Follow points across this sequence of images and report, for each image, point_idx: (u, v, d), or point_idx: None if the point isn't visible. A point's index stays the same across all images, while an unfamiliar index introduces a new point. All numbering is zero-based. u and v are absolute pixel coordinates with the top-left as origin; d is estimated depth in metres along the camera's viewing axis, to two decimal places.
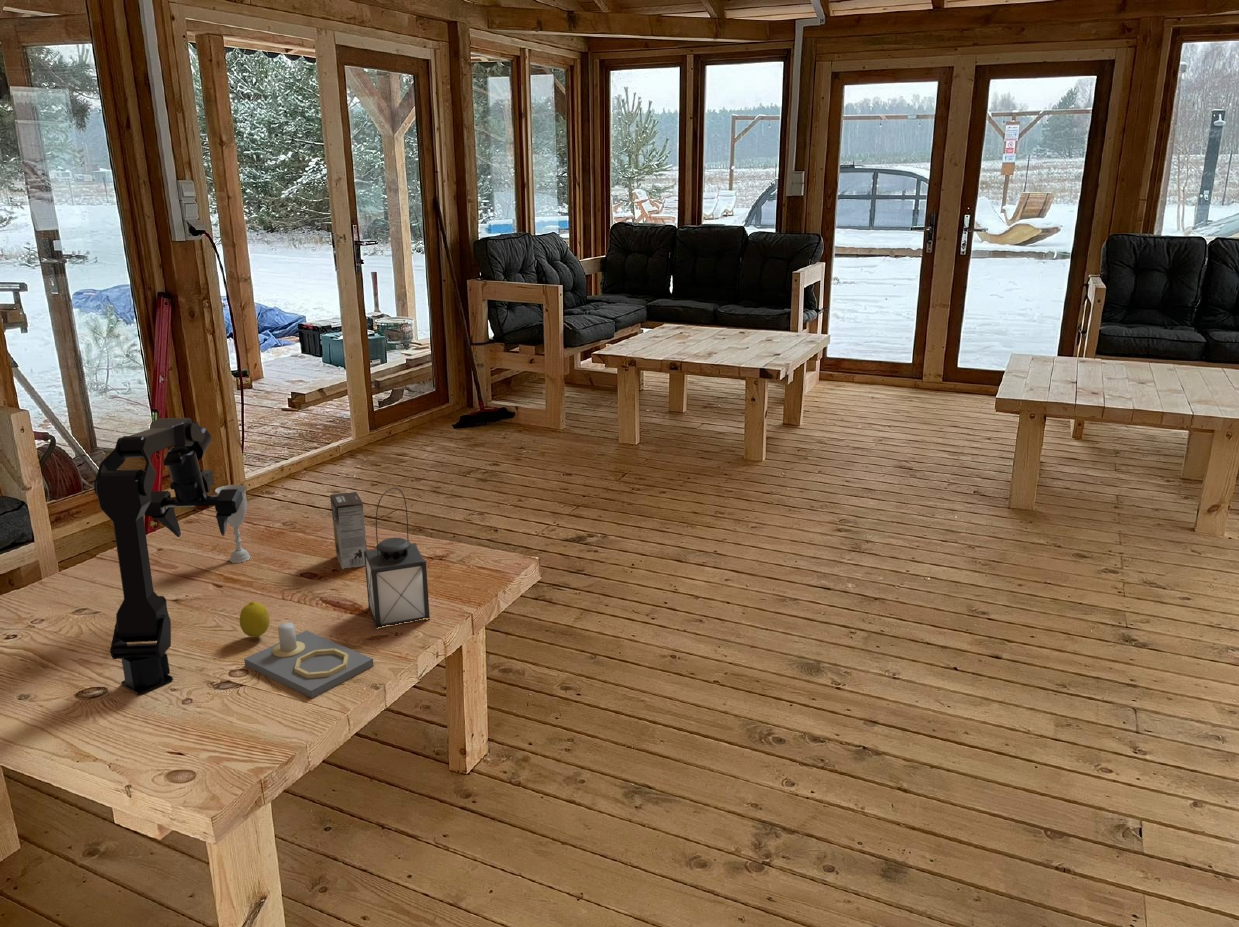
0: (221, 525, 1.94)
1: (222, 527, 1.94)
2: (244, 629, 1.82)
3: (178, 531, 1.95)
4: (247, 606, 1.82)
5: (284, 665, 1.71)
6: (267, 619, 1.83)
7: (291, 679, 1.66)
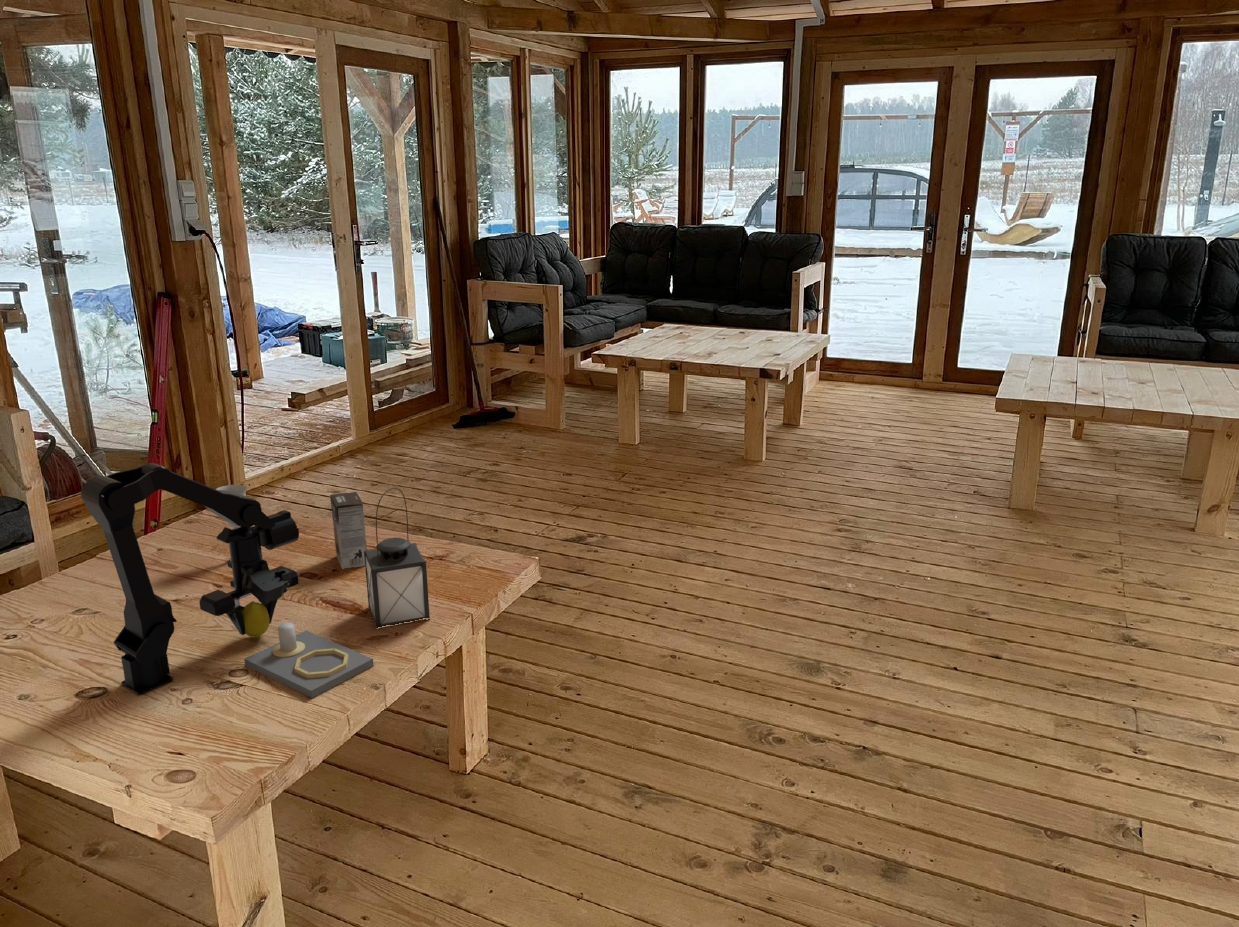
0: None
1: None
2: None
3: None
4: (247, 606, 1.82)
5: (284, 665, 1.71)
6: (267, 619, 1.83)
7: (291, 679, 1.66)
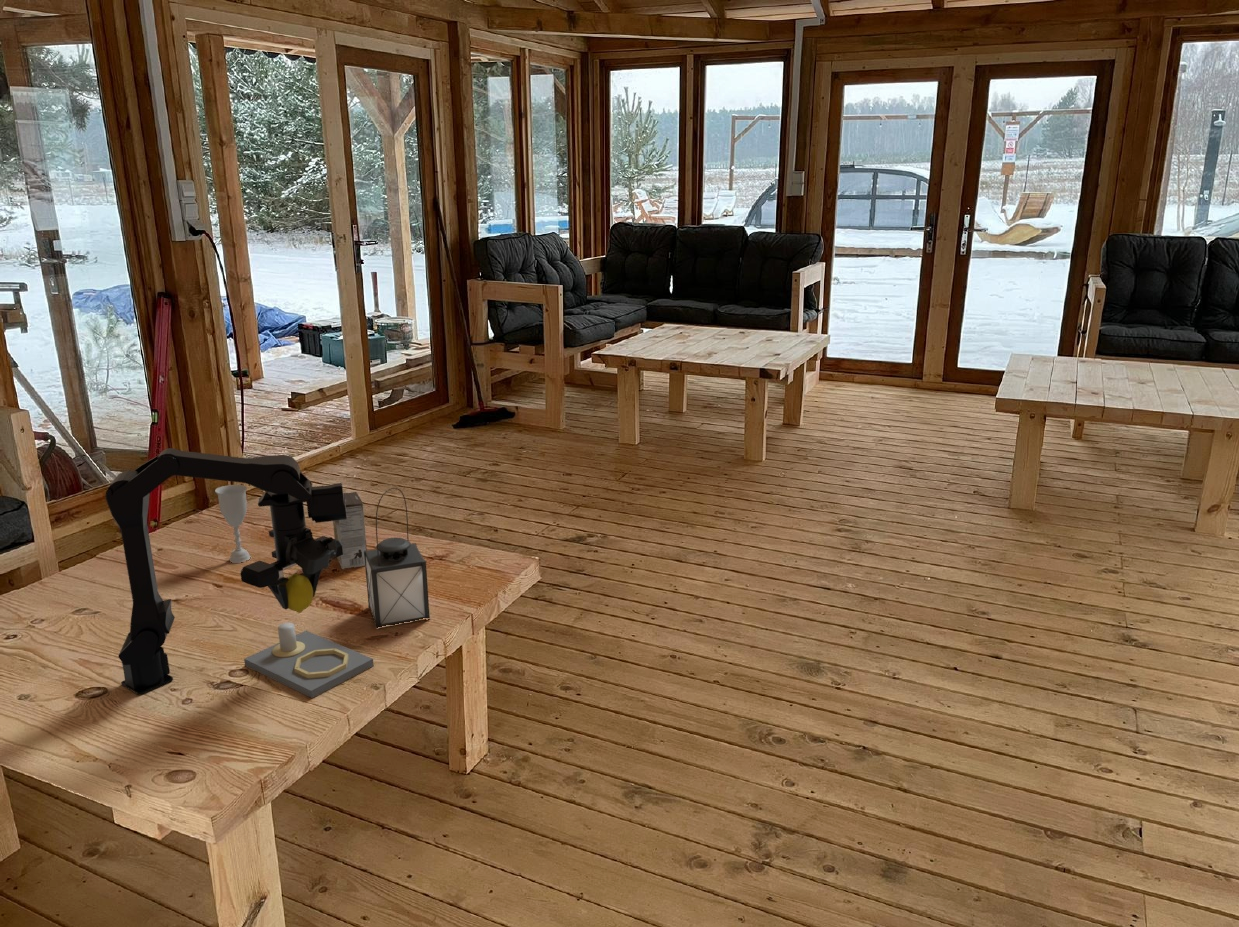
0: None
1: None
2: None
3: None
4: (290, 578, 1.70)
5: (284, 665, 1.71)
6: (311, 592, 1.71)
7: (291, 679, 1.66)
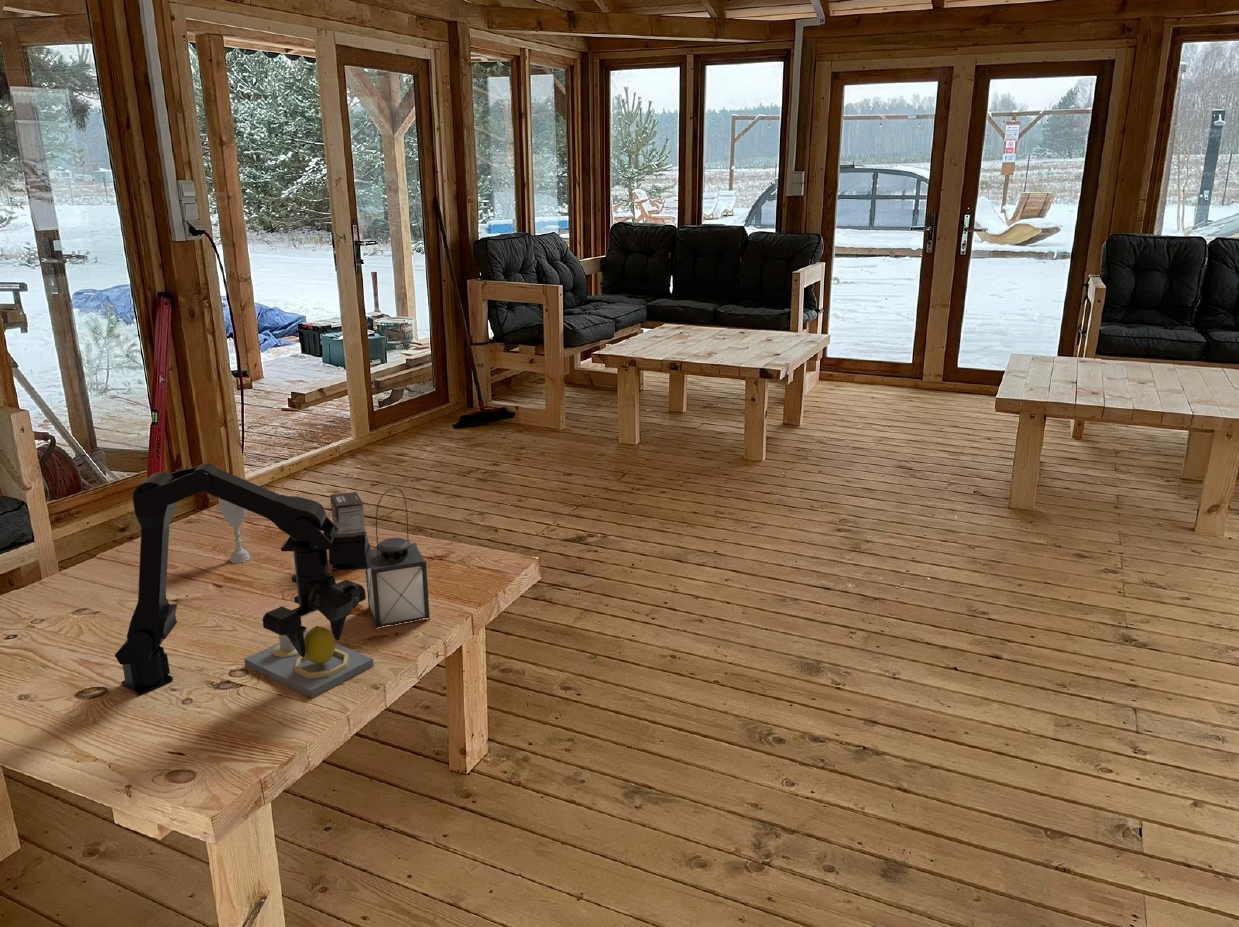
0: None
1: None
2: (309, 656, 1.68)
3: (334, 633, 1.73)
4: (312, 631, 1.68)
5: (284, 665, 1.71)
6: (333, 645, 1.70)
7: (291, 679, 1.66)
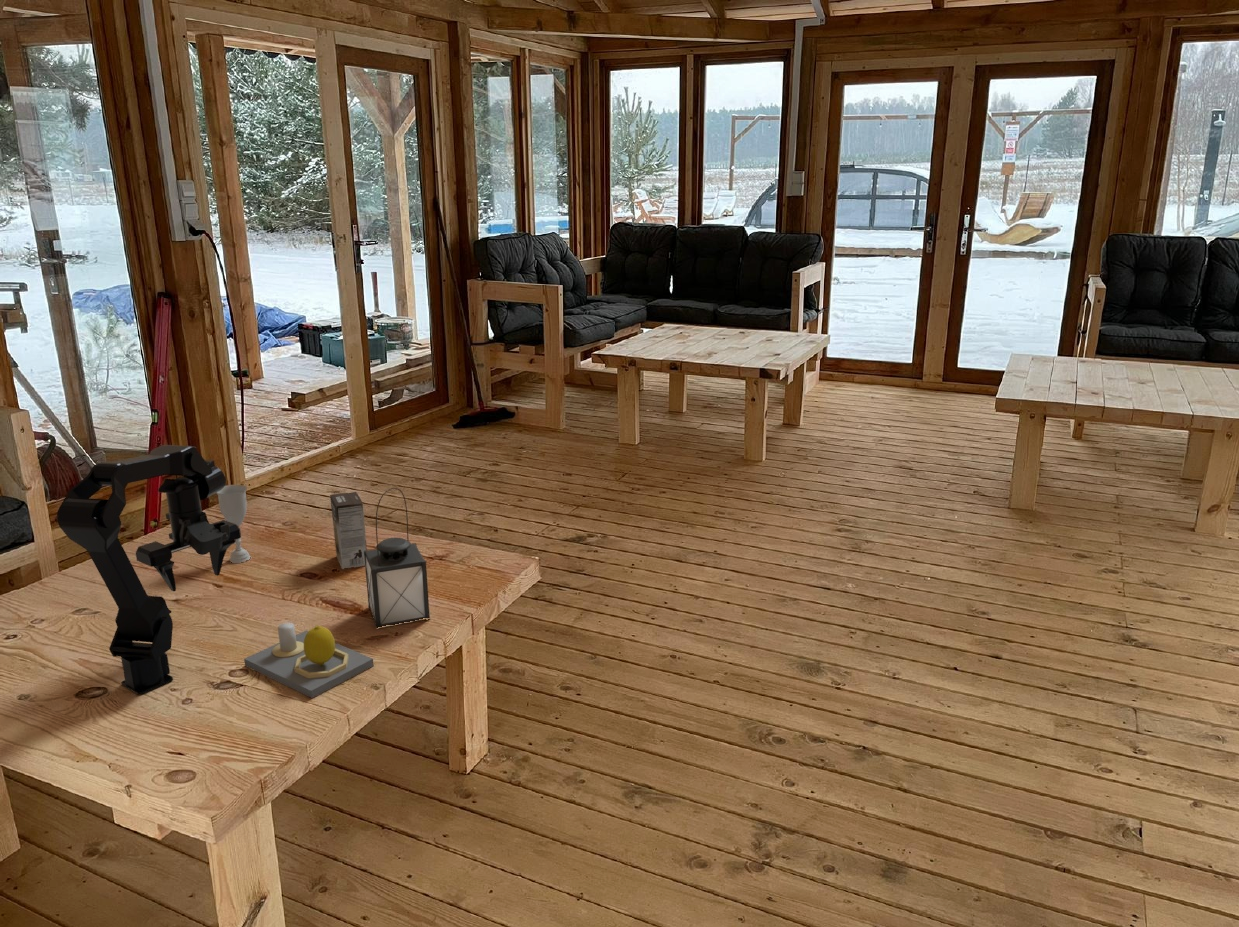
0: None
1: None
2: (309, 656, 1.68)
3: (214, 568, 1.85)
4: (312, 631, 1.69)
5: (284, 665, 1.71)
6: (333, 645, 1.70)
7: (291, 679, 1.66)
